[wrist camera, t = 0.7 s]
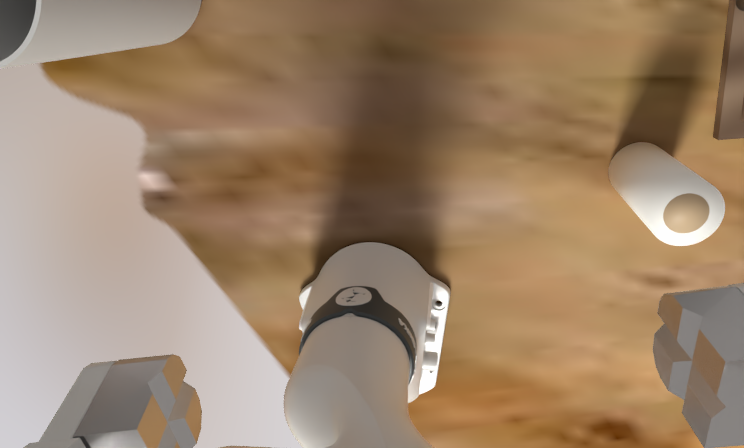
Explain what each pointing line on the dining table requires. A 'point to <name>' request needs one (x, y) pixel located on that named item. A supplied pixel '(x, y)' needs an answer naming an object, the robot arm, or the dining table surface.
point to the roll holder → (732, 77)
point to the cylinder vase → (87, 27)
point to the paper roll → (666, 194)
